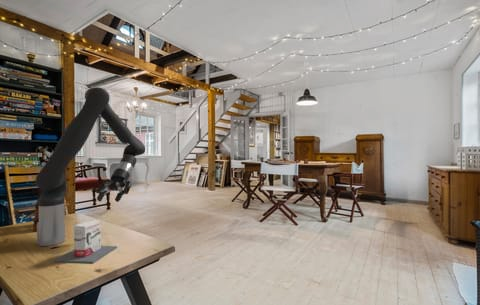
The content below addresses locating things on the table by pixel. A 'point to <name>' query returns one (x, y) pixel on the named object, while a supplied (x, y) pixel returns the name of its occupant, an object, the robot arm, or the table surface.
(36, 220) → the binoculars
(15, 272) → the table surface
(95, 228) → the ink box
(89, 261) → the charcoal mat
